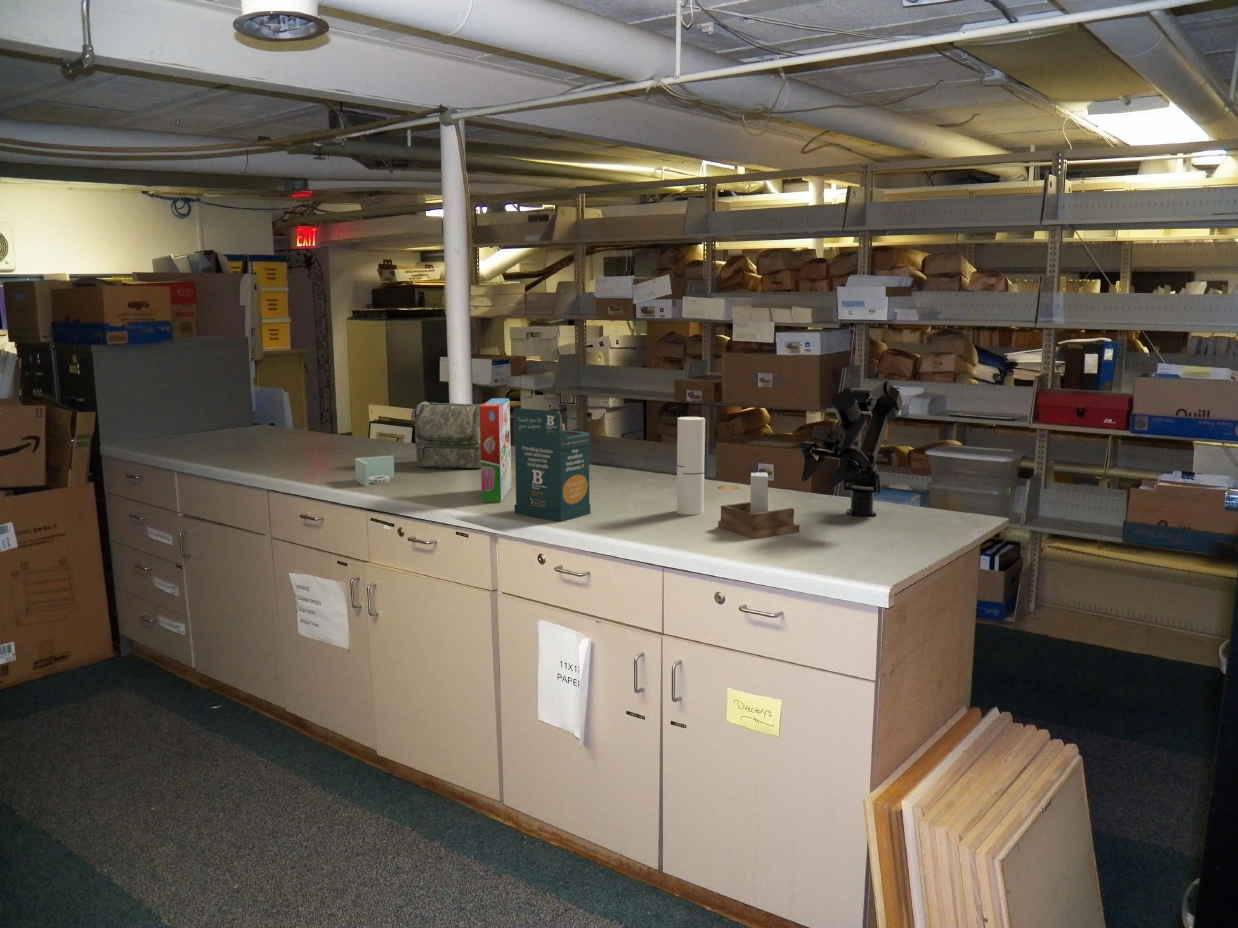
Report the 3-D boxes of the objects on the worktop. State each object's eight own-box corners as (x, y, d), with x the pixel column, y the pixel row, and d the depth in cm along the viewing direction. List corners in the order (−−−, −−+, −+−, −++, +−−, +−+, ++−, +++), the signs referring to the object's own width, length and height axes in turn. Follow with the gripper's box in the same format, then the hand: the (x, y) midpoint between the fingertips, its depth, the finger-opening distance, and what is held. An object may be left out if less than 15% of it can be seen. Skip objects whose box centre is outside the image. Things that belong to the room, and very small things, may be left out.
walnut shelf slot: (762, 520, 240) (763, 499, 239) (799, 531, 228) (800, 509, 227) (718, 526, 233) (718, 504, 232) (753, 538, 221) (754, 515, 220)
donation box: (514, 513, 248) (512, 407, 243) (554, 503, 261) (553, 402, 256) (561, 522, 238) (560, 411, 234) (600, 511, 251) (600, 406, 246)
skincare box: (768, 525, 227) (769, 476, 225) (749, 525, 228) (750, 476, 226) (767, 520, 233) (768, 472, 231) (749, 519, 234) (750, 471, 232)
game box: (493, 488, 282) (491, 398, 278) (511, 488, 282) (510, 398, 278) (481, 502, 262) (479, 405, 257) (501, 502, 262) (499, 405, 257)
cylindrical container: (688, 508, 255) (690, 416, 251) (709, 512, 250) (710, 418, 246) (671, 511, 250) (671, 418, 246) (691, 516, 245) (692, 420, 241)
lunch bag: (407, 468, 319) (404, 403, 315) (430, 459, 336) (428, 398, 333) (479, 471, 313) (478, 405, 309) (499, 462, 330) (497, 400, 327)
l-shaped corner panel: (366, 488, 286) (365, 463, 284) (355, 482, 296) (354, 458, 295) (404, 484, 291) (404, 460, 290) (393, 478, 302) (392, 455, 300)
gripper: (802, 409, 237) (772, 459, 233) (860, 415, 222) (828, 469, 218) (825, 436, 243) (796, 485, 239) (882, 443, 228) (852, 496, 224)
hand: (816, 483), depth 230 cm, fingers open, 9 cm apart
